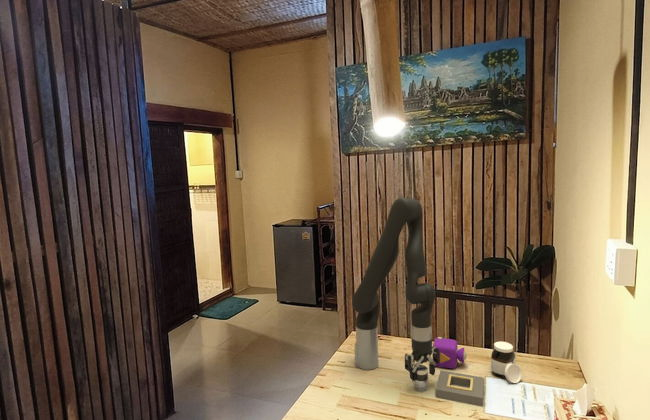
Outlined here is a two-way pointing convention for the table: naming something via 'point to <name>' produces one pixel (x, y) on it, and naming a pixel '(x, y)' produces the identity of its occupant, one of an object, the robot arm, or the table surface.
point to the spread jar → (505, 362)
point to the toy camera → (449, 353)
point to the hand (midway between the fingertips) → (422, 377)
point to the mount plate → (460, 388)
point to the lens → (421, 379)
